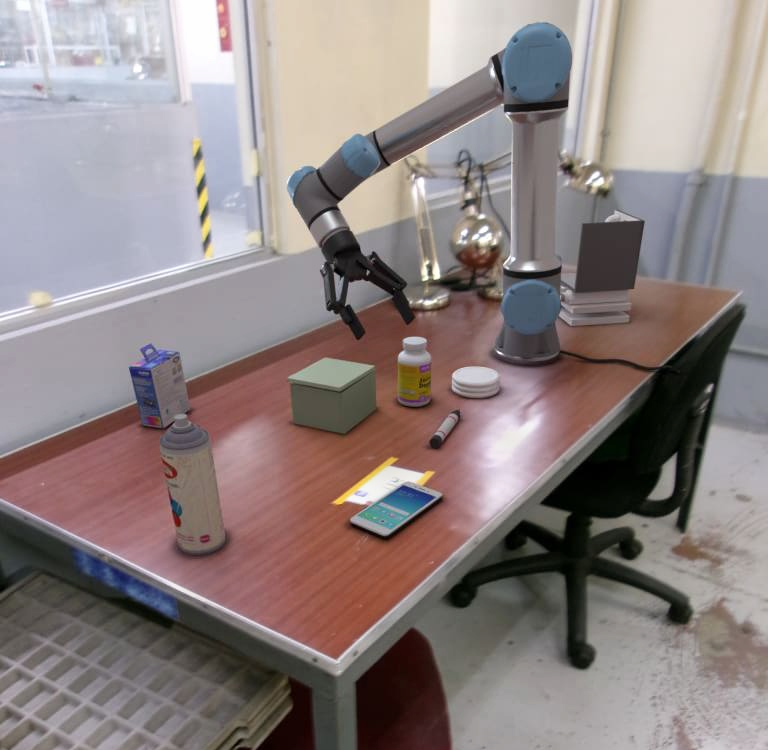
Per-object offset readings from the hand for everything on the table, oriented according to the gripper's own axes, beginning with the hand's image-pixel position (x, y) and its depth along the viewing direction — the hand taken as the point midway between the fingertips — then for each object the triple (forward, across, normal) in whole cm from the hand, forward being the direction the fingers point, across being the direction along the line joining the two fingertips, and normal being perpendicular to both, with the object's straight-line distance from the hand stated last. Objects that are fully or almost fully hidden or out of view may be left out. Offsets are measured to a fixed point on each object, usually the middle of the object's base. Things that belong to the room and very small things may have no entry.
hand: (387, 328), depth 150 cm
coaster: (+18, -14, -1) cm, 23 cm away
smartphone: (+35, +32, +16) cm, 50 cm away
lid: (+5, +16, -2) cm, 17 cm away
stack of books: (+9, -74, -10) cm, 75 cm away
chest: (+11, +16, -8) cm, 21 cm away
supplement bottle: (+15, 0, -4) cm, 16 cm away
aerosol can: (+26, +58, +7) cm, 64 cm away
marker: (+25, +5, +6) cm, 26 cm away
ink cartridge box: (-5, +40, -24) cm, 47 cm away
